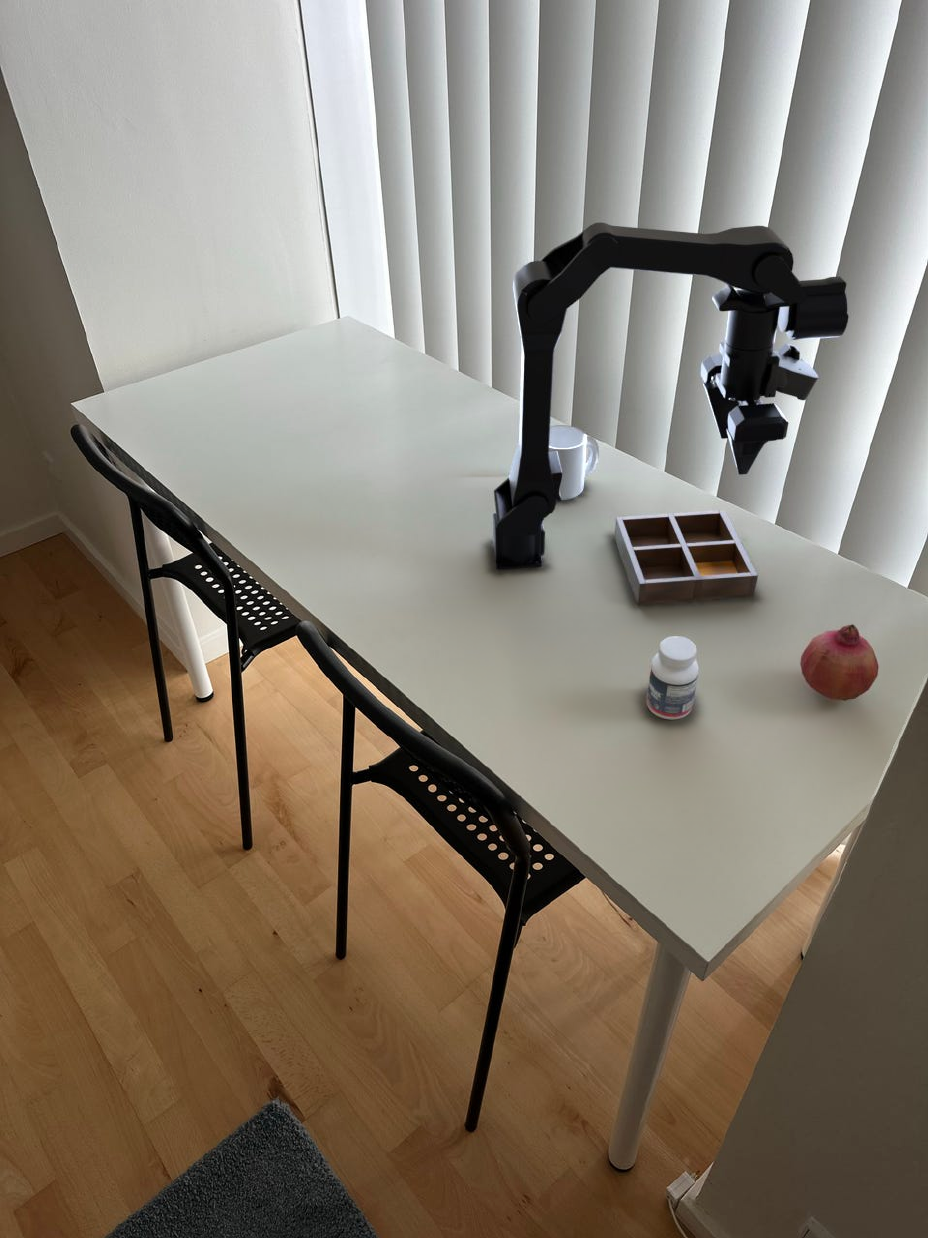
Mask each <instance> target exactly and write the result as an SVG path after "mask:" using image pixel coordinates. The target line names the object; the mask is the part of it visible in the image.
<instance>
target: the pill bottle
mask: <svg viewBox="0 0 928 1238" xmlns="http://www.w3.org/2000/svg"><path fill="white" fill-rule="evenodd" d="M696 658H697V646H696V645H695V643H694V642H693V641H692V640H691V639H689V638H687V637H685V636H679V635H673V636H667V637H666V638H663V639H662V641H661V642H660V644H659V648H658V653H656V654H655V655H654V656H653V658H652V660H651V663H650V671H649V678H648V686H647V693H646V705H647V708H648V709H649V711H650V712H651V713H652V714H653V715H655V716H657V717H659V718H661V719H665V720H672V721H673V720H680V719H683V718H684V717H686V716H688V715H689V714H690V713H691V711H692V709H693V705H694V700H695V694H696V689H697V684H698V677H699V672H700V666H699V663H698V661H697V660H696Z"/></svg>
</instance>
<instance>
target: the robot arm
mask: <svg viewBox="0 0 928 1238" xmlns="http://www.w3.org/2000/svg"><path fill="white" fill-rule="evenodd" d="M793 255H794V254H793V253H792V251H791V249H790V247H788V245H786V243H785V242H784V241H783V240H782V239H781V237H780V236H779V235H778V234H777V233H776V232H775V230H773V229H772V228H770V227H769V226H765V225H752V226H751V225H749V226H740V227H739V226H738V227H731V228H728V229H725V230H722V231H719V232H713V233H701V232H700V233H699V232H690V231H689V232H687V231H676V230H665V229H655V228H645V227H644V228H643V227H632V226H621V225H620V226H619V225H611V224H608V223H606V222H602V221H601V222H594V223H592V224H590V225H589V226H587V227H586V228H584V229H583V230H582V232H580V233H578V235H577V236H575V237H573V238H571V239H569V240H567V241H565V242H563V243H561V244H560V245H558V246H556V247H554V248H553V249H551V250H550V251H549V252H548V253H547V254H545V255H544V256H542V257H541V258H540V259H539V260H534V261H529V262H528V263H526V264H524V265H522V267H521V268H519V270H518V271H516V272H515V275H514V276H513V282H512V290H513V297H514V303H515V310H516V316H517V321H518V328H519V333H520V334H519V335H520V339H521V358H520V393H519V397H520V399H519V429H518V430H519V433H518V434H519V435H518V436H519V437H518V444H517V447H516V450H515V452H514V454H513V456H512V461H511V466H510V471H509V476H508V477H507V478H506V479H505V480H504V481H503V482H502V483H501V484H499V485H498V486H497V487H496V488H495V489H494V490H493V498H494V507H495V512H493V513H492V529H493V530H492V536H493V537H492V541H491V549H492V554H493V561H494V566H495V569H496V570H497V571H501V570H516V569H517V570H519V569H529V568H530V569H531V568H541V567H542V566H543V563H544V562H543V559H542V556H544V555H545V550H546V549H545V548H546V529H545V525H544V520H545V518H547V517H548V516H550V515H551V514H553V513H554V512H555V510H556V505H557V502H562V500H561V495H560V490H559V488H560V484H561V480H562V470H561V465H560V460H559V456H558V451H554V452H549V440H550V427H551V419H552V399H553V398H552V397H553V396H552V395H553V377H554V356H555V351H556V347H557V345H558V343H559V341H560V337H561V336H562V332H563V328H564V324H565V320H566V315H567V312H568V308H570V307H571V306H572V305H574V304H575V303H576V302H578V301H579V300H580V299H581V298H582V297H583V296H584V295H585V293H587V292H588V290H589V289H590V288H591V287H592V285H593V284H594V283H595V282H596V281H597V279H599V278H600V276H602V275H603V274H604V273H606V271H608V270H609V269H619V270H630V271H641V272H642V271H643V272H654V273H664V274H665V273H666V274H667V273H668V274H677V275H688V276H700V277H708V278H711V279H714V280H717V281H719V282H721V283H724V284H726V285H724V287H723V288H721V289H720V290H719V291H717V292H716V293H715V294H713V295H712V297H711V298H712V301H713V303H714V305H715V306H716V308H717V309H718V311H719V312H728V314H727V315H728V317H727V323H726V330H725V339H724V341H721V342H719V348H718V350H719V353H718V354H709V355H708V356H707V357H705V359H704V360H702V361H701V366H700V378H701V379H702V384H703V387H704V390H705V393H706V396H707V399H708V402H709V406H710V408H711V412H712V415H713V418H714V421H715V424H716V428H717V431H718V433H719V437H720V439H722V440H725V439H727V440H728V441H729V445H730V448H731V452H732V455H733V459H734V464H735V467H736V470H737V473H738V475H739V476H742V475H747V474H748V473H749V472H750V470H751V468H752V466H753V464H754V462H756V459H757V457H758V455H759V454H760V452H761V450H763V449H762V448H763V447H764V446H765V445H766V444H767V443H769V442H776V441H780V440H784V439H786V437H787V434H788V429H789V421H788V419H787V418H786V416H785V414H784V413H783V412H782V410H781V409H780V408H779V407H778V406H777V404H775V402H771V403H763V401H762V399H761V398H762V397H764V398H766V399H768V398H776V396H777V395H776V394H777V393H781V394H783V395H787V396H791V397H795V398H796V399H797V400H799V401H806V400H807V398H808V397H809V395H810V393H811V391H812V389H813V388H814V386H815V385H816V382H817V381H818V379H819V375H818V374H817V372H816V371H815V370H814V368H813V367H812V366H811V365H810V363H809V362H807V361H806V360H805V359H804V358H800V357H801V351H800V350H799V348H798V347H797V346H796V345H794V344H791V343H787V342H785V343H784V344H783V345H782V346H781V347H779V348H778V349H777V350H776V351H775V350H774V349H775V342H776V336H777V329H778V327H779V331H780V332H781V333H785V334H786V336H787V338H788V339H789V340H790V341H799V340H800V341H801V340H815V339H827V338H840V337H842V336H843V335H844V333H845V331H846V330H847V326H848V323H849V314H848V298H847V294H846V289H847V282H846V281H845V280H844V279H843V277H841V276H840V275H839V276H838V275H837V276H828V277H825V278H820V279H806V280H799V279H798V277H797V276H796V275H795V274H794V273H793V269H794V263H795V262H794V256H793Z"/></svg>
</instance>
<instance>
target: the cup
mask: <svg viewBox="0 0 928 1238" xmlns="http://www.w3.org/2000/svg"><path fill="white" fill-rule="evenodd" d="M587 449H588V453H587ZM554 451H558V456H559V460H560V465H561V470H562V480H561V484H560V488H559V490H560V495H561V501H568V500H572V499H575V498H577V497H578V496H580V494H581V493H582V492H583V491H584V487H585V477H587V476H589V475H590V474H592V472H594V470H595V469H596V467H597V465H598V462H599V458H600V449H599V444H598V442H597V440H596V439H595V438H594V437H593V436H590V435H589V436H587V433H586V432H585V431H584V430H582V429H581V428H578V427H576V426H572V425H567V424H565V425H564V424H558V425H557V424H556V425H550V440H549V452H554ZM587 454H588V455H587ZM586 459H587V460H586Z"/></svg>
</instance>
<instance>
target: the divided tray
mask: <svg viewBox="0 0 928 1238" xmlns="http://www.w3.org/2000/svg"><path fill="white" fill-rule="evenodd" d="M613 538H614V542H615V544H616V546H617V550H618V553H619V556H620V558H621V562H622V564H623V568H624V571H625V573H626V576H627V580H628V582H629V584H630V588H631V590H632V593H633V597H634V599H635V603H636V605H637V606H643V605H657V604H669V603H686V602H699V601H711V600H712V601H713V600H714V601H715V600H727V599H741V598H754V596H755V592H756V588H757V587H756V586H757V583H758V578H759V575H758V573H757V571H756V569H755V567H754V565H753V563H752V561H751V560H750V556H749V555H748V554H747V551H746V550H745V547H744V545H743V544H742V542H741V540H740V538H739V536H738V534H737V532H736V530H735V528H734V526H733V525H732V522H731V521H730V519H729V517H728V515H727V513H726V511H725V510H724V509H721V510H720V509H719V510H705V511H704V510H703V511H689V512H676V513H660V514H659V513H658V514H646V515H629V516H628V515H627V516H617V517H615V524H614V536H613Z"/></svg>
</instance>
